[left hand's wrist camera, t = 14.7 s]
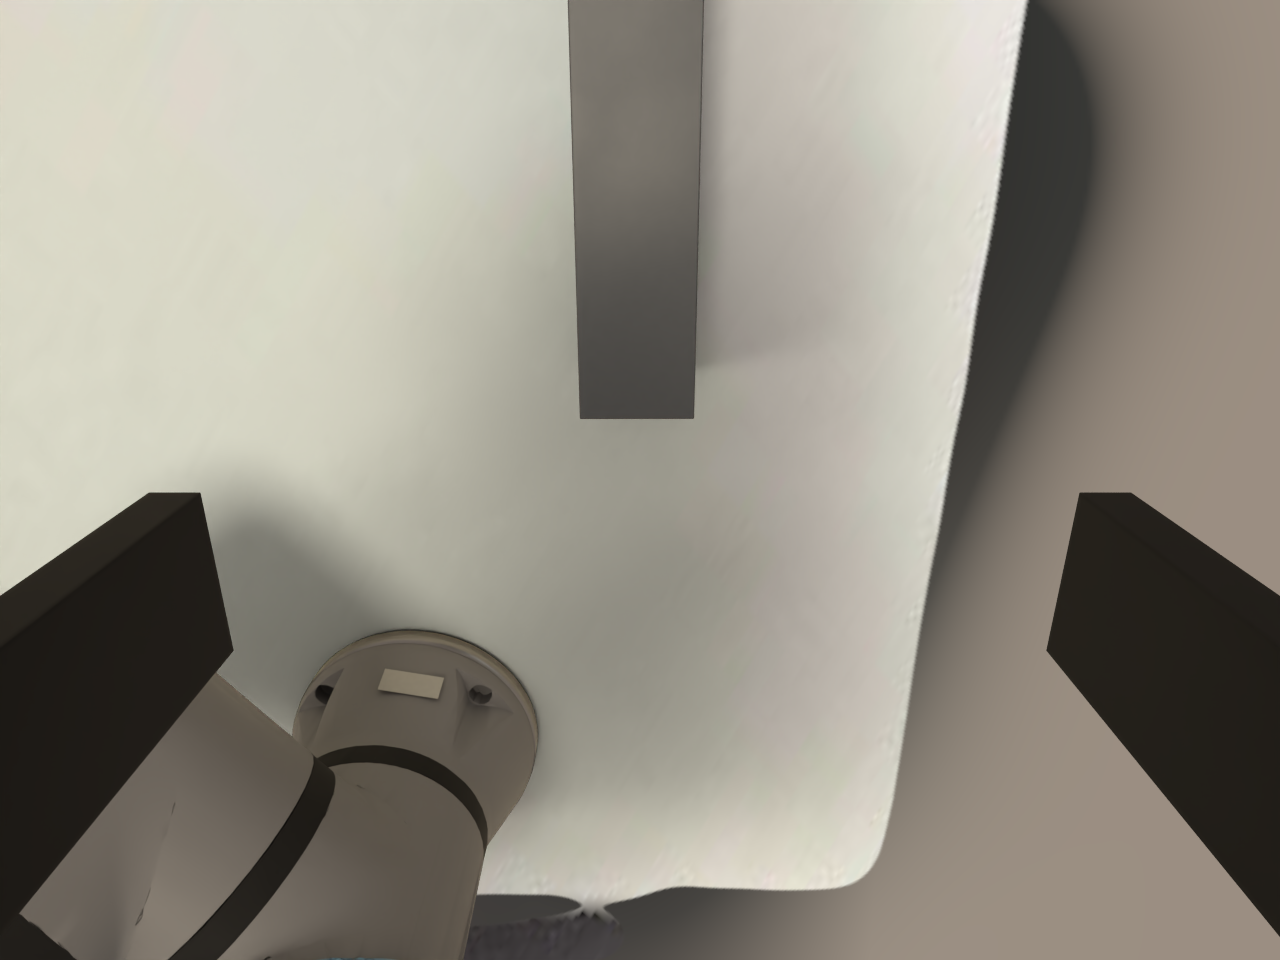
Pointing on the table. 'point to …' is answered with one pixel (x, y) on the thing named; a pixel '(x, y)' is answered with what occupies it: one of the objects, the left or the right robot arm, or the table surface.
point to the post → (636, 203)
